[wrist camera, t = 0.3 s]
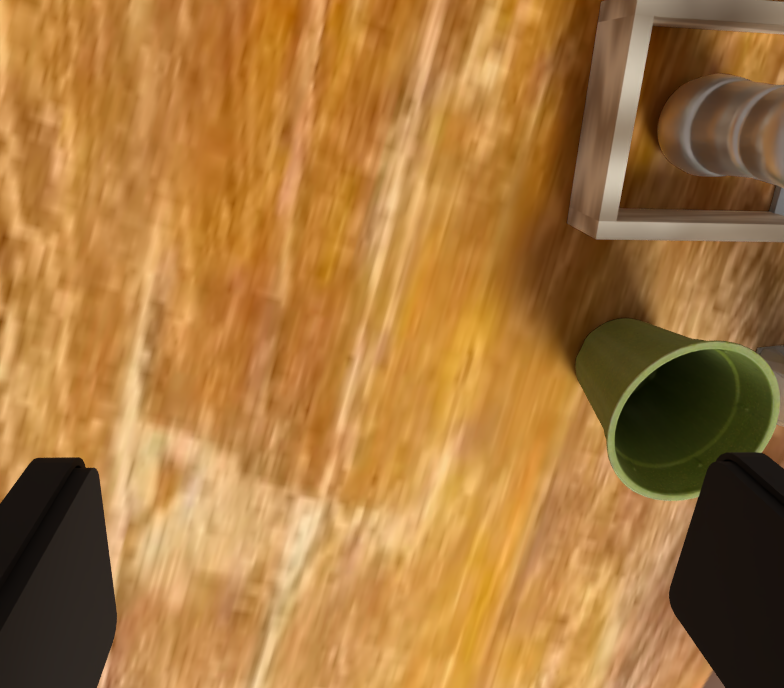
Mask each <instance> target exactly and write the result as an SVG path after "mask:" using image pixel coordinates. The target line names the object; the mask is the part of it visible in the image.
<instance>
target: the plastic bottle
mask: <svg viewBox="0 0 784 688" xmlns="http://www.w3.org/2000/svg"><path fill="white" fill-rule="evenodd" d="M657 135H658V142H659V145H660V148H661V151H662V153H663V154H664V156H665V157H666V159H667V160H668V161H669V162H670V163H671V164H673V165H675V166H676V167H678V168H680V169H681V170H683V171H685V172H686V173H688V174H692V175H695V176H706V177H719V176H727V175H728V176H738V177H748V178H754V179H757V180H760V181H764V182H767V183H770V184H773V185H777V186H779V187H782V188H784V85H773V84H766V83H759V82H753V81H751V80H748V79H745V78H742V77H739V76H734V75H730V74H721V73H719V74H710V75H707V76H703V77H700V78H697V79H694V80H691V81H689V82H687V83H685V84H684V85H682V86H681V87H679V88H678V89H677V90H676V91H675V92H674V93H673V94H672V95H671V96H670V98H669V99H668V100H667V102H666V104H665V105H664V107H663V109H662V112H661V114H660V117H659V122H658V133H657Z"/></svg>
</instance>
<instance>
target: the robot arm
mask: <svg viewBox="0 0 784 688" xmlns="http://www.w3.org/2000/svg"><path fill="white" fill-rule="evenodd" d="M669 599H670V604H671V607H672V610H673V612H674V614H675V615H676V617H677V618H678V620H679V621H680V623H681V624H682V625H683V627H684V628H685V630H686V631H687V633H688V634H689V636H690V637H691V638H692V640H693V641H694V643H695V644H696V646H697V647H698V649H699V650H700V651H701V653H702V654H703V656H704V657H705V659H706V660H707V662H708V663H709V664H710V666H711V667H712V669H713V670H714V672H715V673H716V675H717V676H718V677H719V679H720V680H721V682H722V683H723V684H724V686H725V688H784V469H783V468H782V467H781V466H779V465H778V464H777V463H776V462H774V461H773V460H772V459H771V458H769V457H768V456H767V455H765V454H763V453H758V452H726V453H723V454H721V455H720V456H719V457H718V458H717V460H716V462H713V463H711V464H710V465H709V467H708V469H707V472H706V475H705V478H704V481H703V484H702V488H701V491H700V494H699V497H698V500H697V503H696V507H695V510H694V513H693V516H692V519H691V523H690V526H689V529H688V532H687V535H686V538H685V542H684V545H683V548H682V551H681V554H680V557H679V561H678V564H677V567H676V570H675V573H674V577H673V580H672V583H671V586H670V591H669ZM116 623H117V612H116V603H115V596H114V588H113V580H112V572H111V565H110V557H109V549H108V541H107V534H106V526H105V518H104V510H103V503H102V495H101V487H100V479H99V474H98V471H97V469H95V468H86V467H85V464H84V462H83V460H82V459H81V458H36V459H34V460H33V461H32V462H31V463H30V464H29V465H28V467H27V468H26V469H25V471H24V472H23V473H22V475H21V476H20V478H19V479H18V480H17V482H16V483H15V484H14V486H13V487H12V489H11V490H10V491H9V493H8V494H7V495H6V497H5V498H4V499H3V501H2V502H1V504H0V688H97V686H98V683H99V680H100V677H101V674H102V671H103V669H104V666H105V663H106V660H107V657H108V654H109V651H110V648H111V646H112V643H113V639H114V636H115V631H116Z"/></svg>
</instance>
